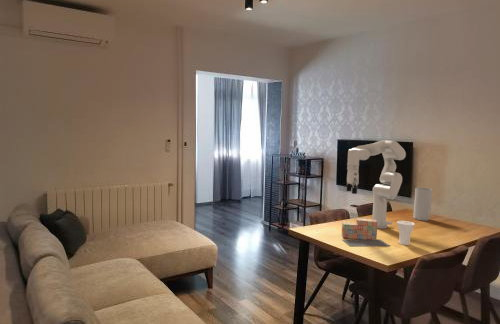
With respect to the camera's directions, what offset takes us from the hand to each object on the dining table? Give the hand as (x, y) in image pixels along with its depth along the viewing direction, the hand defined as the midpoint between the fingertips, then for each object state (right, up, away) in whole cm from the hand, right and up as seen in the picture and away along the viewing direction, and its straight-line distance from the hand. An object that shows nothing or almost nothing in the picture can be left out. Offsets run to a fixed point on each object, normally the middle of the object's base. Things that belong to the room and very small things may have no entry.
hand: (351, 192), depth 251 cm
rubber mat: (+3, -30, -19) cm, 36 cm away
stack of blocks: (+2, -29, -9) cm, 31 cm away
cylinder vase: (+72, -26, +51) cm, 92 cm away
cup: (+28, -31, -18) cm, 46 cm away
